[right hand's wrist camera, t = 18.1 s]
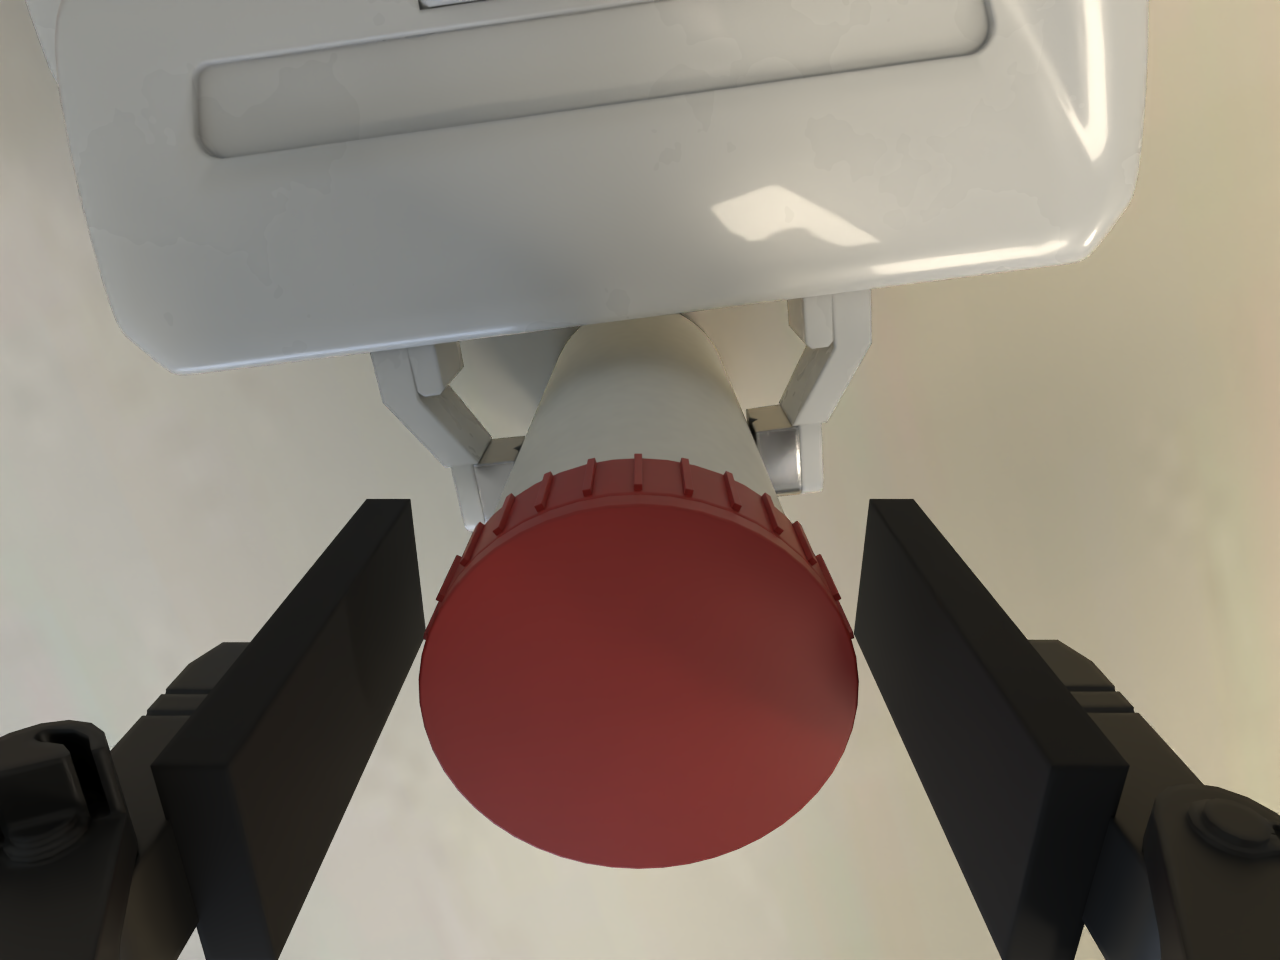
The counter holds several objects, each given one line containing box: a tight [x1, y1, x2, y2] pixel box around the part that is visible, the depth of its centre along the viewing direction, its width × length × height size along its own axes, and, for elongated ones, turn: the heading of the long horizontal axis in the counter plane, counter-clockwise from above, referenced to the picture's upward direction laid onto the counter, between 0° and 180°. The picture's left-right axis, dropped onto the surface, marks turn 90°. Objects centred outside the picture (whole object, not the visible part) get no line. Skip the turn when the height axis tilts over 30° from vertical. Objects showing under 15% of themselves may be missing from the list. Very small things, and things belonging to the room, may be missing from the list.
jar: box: [493, 313, 785, 515], centre depth 18 cm, size 6×6×15 cm
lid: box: [419, 454, 859, 869], centre depth 11 cm, size 6×6×2 cm
